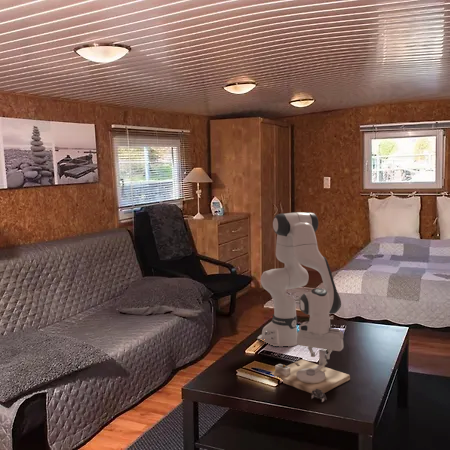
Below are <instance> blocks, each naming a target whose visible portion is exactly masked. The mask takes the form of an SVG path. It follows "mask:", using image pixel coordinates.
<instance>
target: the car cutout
mask: <svg viewBox="0 0 450 450" xmlns="http://www.w3.org/2000/svg"><path fill="white" fill-rule="evenodd" d="M310 395H311V399H318V400H319V401H321V403H323V402H325V401H327V396H326V394H325V393H323V392H322V390H319V389H315V391H314V390H313V391H312V393H311V394H310Z"/></svg>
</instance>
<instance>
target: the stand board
mask: <svg viewBox="0 0 450 450" xmlns="http://www.w3.org/2000/svg"><path fill="white" fill-rule="evenodd" d="M317 365H318V364H316V363H315V362H312V361H308V360H305V359H301V358H300V359H298V360H297V361H294V362H292V363H290V364H288V365H285V364H282V363H278V364H276V365H275V366H274V367H275V368H274V371H272V372H270V373H269V375H270V374H272V375H274V376H277V377H279V378H281V379H282V380H283V384H286V385H288V386H291V387H293V388H295V389H298V390H301V391H304V392H307V393H308V394H309V393H310V394H312V391H313V390H314V391H315V389H319V390H322V392H323V393H324V394H325V393H327V392H329V391H331V390H333V389H334V388H336V387H338V386H341V385H343V384H344V383H346V382H348V381H350V380H351V375H350V374H349V373H345V372H342V371H339V370H335V369H333V368H329V367H326V366H325V367H324V368H322V369H321V371H323V372H324V373H325V380H324V381H323V382H320V383H313V384H312V383H304V382H301V381H299V380H298V379H297V377H296V373H297V371H299V370H301V369H306V368H314V367H316V366H317Z"/></svg>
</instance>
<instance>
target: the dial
mask: <svg viewBox="0 0 450 450" xmlns="http://www.w3.org/2000/svg"><path fill="white" fill-rule="evenodd" d="M318 353H319V356H318V358H319V359H318V364H317V366H316V367H314V368H306V369H301V370H299V371H297V373H296V377H297V379H298V380H299V381H301V382H304V383H312V384H313V383H320V382H323V381H324V380H325V373H324V372H323V371H321V369H322V368H324V367H326V365H328V364H329V363H328V361H327V359H325V355H326V354H327V349H319V351H318Z"/></svg>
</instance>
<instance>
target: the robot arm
mask: <svg viewBox="0 0 450 450" xmlns="http://www.w3.org/2000/svg"><path fill="white" fill-rule="evenodd" d="M272 228H273V231H274V233H275V234H276V235H277V236H276V245H275V257H276V259H277V260H278V261H279V262H280V263H283V264H284V266H283V267H281V268H271V269H269V270H265V271H263V272H262V274H261V275H260V284H261V287H262V288H263V289H264V290H265V291H267V293H269V294H270V296H271V298H272V300H273V311H274V314H272V315H270V319H272V320H271V321H270V322H268V323H267V324H266V325H265V326H264V327H263V328H262V331H261V334H259V336H257V340H258V339H262V340H264V339H265V340H264V341H265V342H266V343H265V342H264V343H265V344H267V343H268V344H267V345H269V344H270V345H269V346H271V345H273V346H279V347H283V346H288V347H293V346H297V345H298V346H300V347H301V346H302V347H307V349H308V351H309V353H310V357H312V358H315V357H316V351H314V350H313V349H314V348H315V349H319V350H321V349H324V350H326V351H327V352H328V353H326V355H325V359H326V360H330V355H331V353H332V352H333V351H336V352H341V351H342V350H344V332H343V331H342V330H341V329H340V328H333V327H331V319H330V318H331V317H330V315H331V314H333V315H335V314H337V312H338V311H339V310H340V309H341V308H342V307H341V306H342V300H341V297H340V295H339V291H338V290H337V287H336V284H335V281H334V278H333V277H334V276H333V274H332V271H331V267H330V265H329V261H328V259H327V257H325V256H323V255H322V253H321V252H320V250H319V245H318V241H317V236H316V232H317V230H318V229H319V219H318V216H317V215H316V213H314V212H309V211H307V212H303V211H302V212H301V211H297V212H295V211H294V212H287V213H284V212H283V213H278V214H275V215H274V217H273V220H272ZM303 266H304V267H303ZM305 267H306V268H310V269H313V270H315V271H317V272H318V273H319V274H320V276H321V280H322V283H323V287H324V288H320V287H319V288H313V289H311V290H310V292H305V293H303V294H302V295H301V296H300V298H299V310H300V311H301V312H302V313H303V314H305V315H309V318H308V319H309V320H308V321H304V322H302V323H300V324H299V326H298V328H297V324H298V316H297V302H296V300H295V298H294V297H293V296H290V295H288V294H287V290H291V289H292V290H293V289H299V288H301V287H302V288H303V287H305V286H306V285H307V284H308V283H309V277H310V276H309V273H308V270H307V269H306V268H305ZM273 346H272V347H273Z"/></svg>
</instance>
